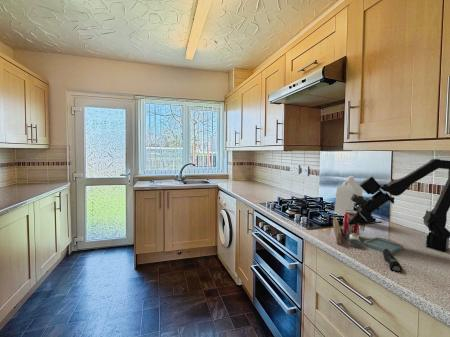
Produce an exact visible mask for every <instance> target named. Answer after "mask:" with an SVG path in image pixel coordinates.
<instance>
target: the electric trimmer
mask: <svg viewBox="0 0 450 337" xmlns="http://www.w3.org/2000/svg"><path fill="white" fill-rule="evenodd" d="M382 254H383V255H382V256H383V258H384V260H385V262H387V263H388V265H389V270H390V271H391V272H393V271H395V272H394V273H399V272H400V273H401V274H402V273H403V267H402V265H401V264H400V262H398V259H397V258H396V257H394V255H393V254H391V253H390V251H389V250H388V249H384V251H383V252H382ZM400 273H399V274H400Z"/></svg>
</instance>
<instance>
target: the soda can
mask: <svg viewBox="0 0 450 337" xmlns="http://www.w3.org/2000/svg"><path fill="white" fill-rule="evenodd" d="M355 216H356V211H354V210H346V212H345V213H344V218H343V221H342V234H343V235H344V236H345V237H346V232H348V233H356V234H359V232H360V225H361V223H358V224H353V225H349V224H348V223H349V222H350V221H351V220H352V219H353V218H354V217H355Z"/></svg>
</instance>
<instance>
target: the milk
mask: <svg viewBox="0 0 450 337" xmlns="http://www.w3.org/2000/svg"><path fill="white" fill-rule="evenodd" d="M359 185H360V184H358V183H357V182H356V181H355V176H353V175H350V176H346V180H345V181H344V182H342V184H340V185H339V186H338V187H337V188H336V195H335V196H336V197H335V202H334V204H335V205H334V211H333V212H334V213H333V215H334V214H337V215H342V216H344V213H345V212H346V210H353V206H354V207H355V205H354V203H356V202H353V201H352V200H351V197H352V196H353V194H356V195H358V196H359V195H360V196H362V197H363V189H362V188H361V187H360V186H359Z"/></svg>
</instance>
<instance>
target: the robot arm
mask: <svg viewBox="0 0 450 337" xmlns="http://www.w3.org/2000/svg"><path fill="white" fill-rule="evenodd" d="M438 169H440V170H441V169H444V170H448V171H447V173H448V175H447V176H448V178H447V180H446V182H445V185H444V186H443V188H442V190H441V192H440V194H439V197H438V199H437V201H436V203H435V205H434V207H433V208H432V209H431V210H426V211H425V214H424V216H423V217H422V219H423V224H424V226H425V227H426V228H427V229H428V231H429V232H428V234H427V235H426V240H425V241H426V242H425V244H426V245H425V247H426V248H427V249H432V250H436V251H439V252H443V253H445V252H447V251H449V250H450V247H449V245H450V244H449V243H450V231H449V229H447V228H446V225H447V222H448V221H447V220H448V219H447V215H448V212H449V209H450V160H445V159H444V160H443V159H440V158H432V159H430V160H429V161H428V162H426V163H424V164H423V165H421V166H420V167H419V168H416V169H415V170H413V171H411V172H410V173H408V174H407V175H405V176H403V177H400V178H397V179H394V180H392V181H389V182H388V183H385V184H384V183H383V184H379V182H377V180H375V178H374V177H373V176H370V177H369V178H367V179H364V180H363V181H362V182H360V184H358V185H359V186H360V187H361V188H362V191H364V192H365V193H366V194H367V195H372V196H371V197H366V198H364V196H363V195H362V196H360V195H359V196H358V195H356V194H353V196H352V197H351V200H352V201H353V202H356V203H354V205H355V207H354V206H353V210H354V211H356V216H355V217H354V218H353V219H352V220H351V221H350V222H349V223H348V224H349V225H353V224H358V223H360V224H363V223H367V222H368V223H372V222H373V221H374V217H373V213H374V212H375V211H379V210H380V208H381V207H383V206H384V205H385V204H386V203H388V202H390V203H391V204H395V197H399V196H401V195H402V194H403V193H404V192H406V190H408V189H409V188H410V186H411V185H413V184H415V183H417V181H419V180H422V179H423V178H425V177H426V176H428V175H430V174H432V173H433V172H434V171H436V170H438ZM390 195H391V196H390ZM393 196H394V197H393Z"/></svg>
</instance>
